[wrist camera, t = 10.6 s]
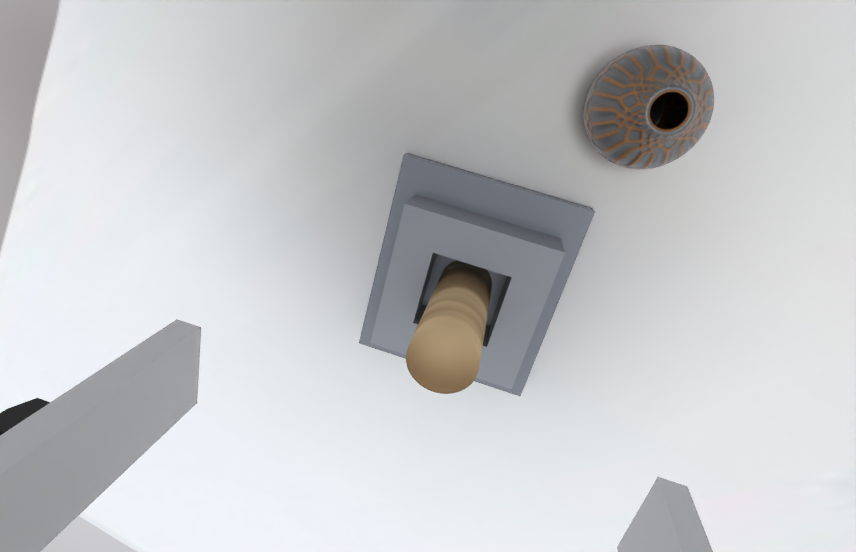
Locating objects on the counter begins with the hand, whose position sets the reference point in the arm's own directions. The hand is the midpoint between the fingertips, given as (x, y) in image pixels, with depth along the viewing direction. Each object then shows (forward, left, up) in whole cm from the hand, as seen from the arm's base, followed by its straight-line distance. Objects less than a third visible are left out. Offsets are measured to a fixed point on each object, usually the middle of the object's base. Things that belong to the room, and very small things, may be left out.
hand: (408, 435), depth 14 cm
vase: (-11, +7, -25) cm, 28 cm away
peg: (+4, 0, -24) cm, 24 cm away
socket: (+4, 0, -25) cm, 25 cm away
